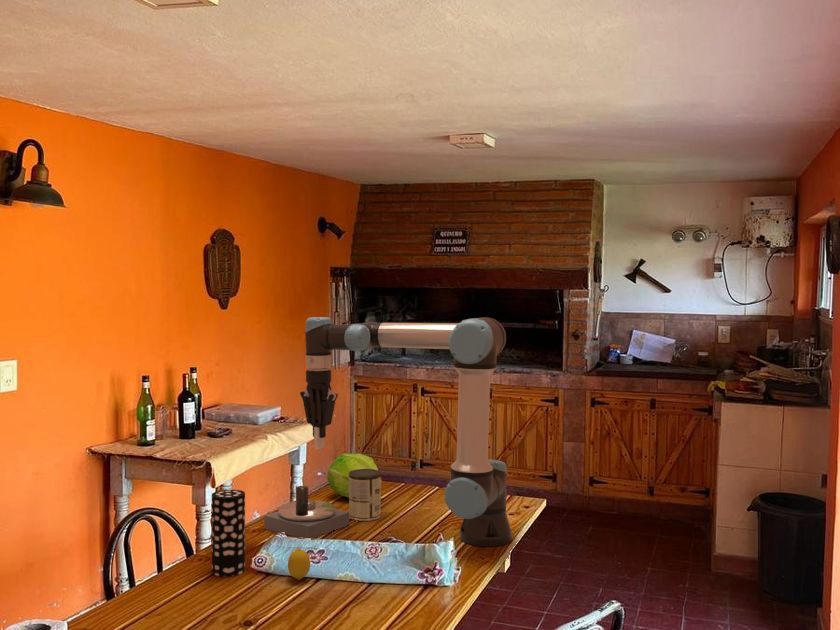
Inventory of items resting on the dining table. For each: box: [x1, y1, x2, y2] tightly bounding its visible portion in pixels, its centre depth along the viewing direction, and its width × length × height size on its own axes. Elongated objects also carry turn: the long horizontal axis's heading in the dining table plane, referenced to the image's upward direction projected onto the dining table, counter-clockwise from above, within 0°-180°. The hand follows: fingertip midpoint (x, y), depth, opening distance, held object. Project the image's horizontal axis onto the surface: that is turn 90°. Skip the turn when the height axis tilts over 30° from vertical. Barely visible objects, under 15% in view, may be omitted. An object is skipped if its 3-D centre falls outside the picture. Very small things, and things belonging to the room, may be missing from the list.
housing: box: [263, 508, 350, 539], centre depth 244 cm, size 18×18×4 cm
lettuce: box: [326, 452, 383, 499], centre depth 276 cm, size 17×20×15 cm
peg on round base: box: [278, 485, 336, 521], centre depth 243 cm, size 17×17×10 cm
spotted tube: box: [211, 489, 246, 577], centre depth 206 cm, size 8×8×20 cm
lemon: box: [287, 548, 311, 581], centre depth 200 cm, size 6×6×8 cm
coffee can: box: [348, 469, 382, 522], centre depth 255 cm, size 10×10×14 cm
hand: (319, 448), depth 239 cm, fingers closed
